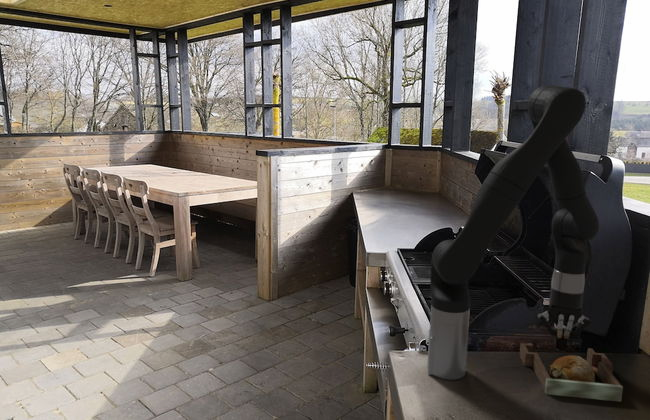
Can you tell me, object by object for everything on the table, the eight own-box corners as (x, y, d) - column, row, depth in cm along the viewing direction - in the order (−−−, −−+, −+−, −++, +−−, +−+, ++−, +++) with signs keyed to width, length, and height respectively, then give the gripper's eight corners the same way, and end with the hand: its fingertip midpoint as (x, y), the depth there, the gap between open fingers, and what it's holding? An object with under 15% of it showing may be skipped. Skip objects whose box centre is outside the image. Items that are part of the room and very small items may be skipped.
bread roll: (589, 408, 113) (609, 381, 111) (548, 384, 115) (567, 358, 113) (580, 386, 123) (598, 361, 121) (542, 364, 125) (559, 340, 122)
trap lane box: (536, 393, 113) (538, 379, 112) (519, 354, 132) (520, 342, 131) (630, 402, 109) (632, 388, 109) (598, 361, 128) (600, 349, 127)
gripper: (543, 290, 122) (536, 354, 125) (600, 294, 120) (591, 359, 123) (536, 280, 129) (529, 341, 132) (589, 284, 127) (581, 346, 130)
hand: (559, 350), depth 128 cm, fingers closed
